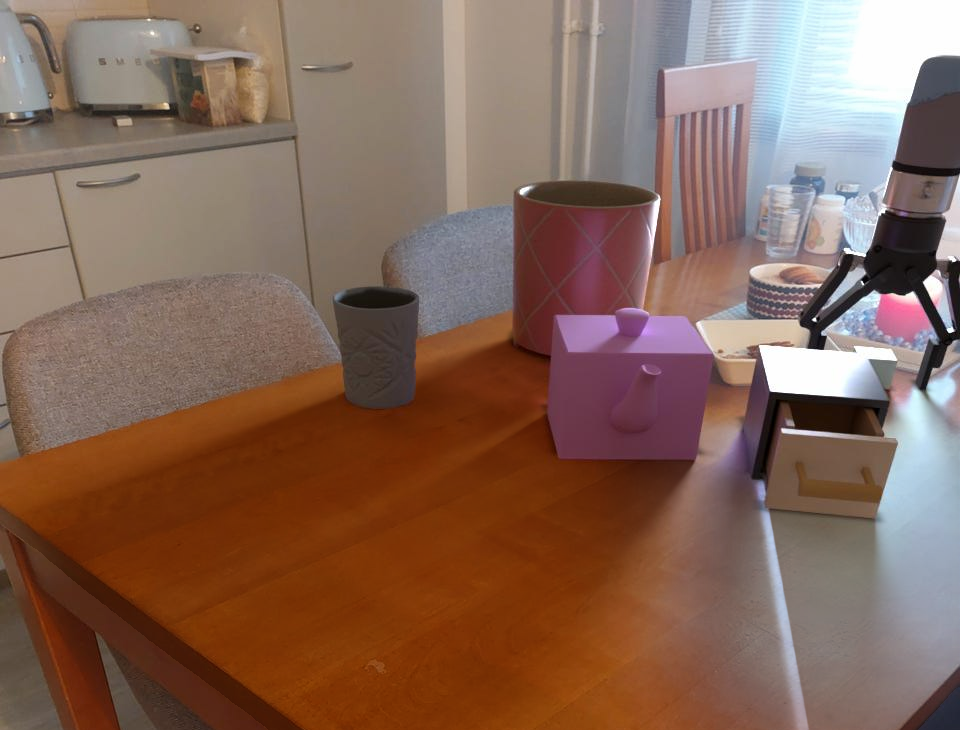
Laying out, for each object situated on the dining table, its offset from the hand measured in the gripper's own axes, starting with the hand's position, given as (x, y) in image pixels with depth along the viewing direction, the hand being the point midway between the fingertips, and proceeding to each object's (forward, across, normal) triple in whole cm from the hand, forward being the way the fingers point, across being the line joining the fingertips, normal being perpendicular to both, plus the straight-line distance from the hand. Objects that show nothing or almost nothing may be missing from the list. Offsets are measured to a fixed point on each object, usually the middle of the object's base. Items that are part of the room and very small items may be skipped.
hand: (864, 387), depth 121 cm
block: (0, 0, 0) cm, 0 cm away
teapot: (0, -31, -24) cm, 39 cm away
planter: (+1, -39, +8) cm, 40 cm away
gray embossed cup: (+1, -61, -17) cm, 63 cm away
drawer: (-1, -11, -36) cm, 37 cm away
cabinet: (0, -11, -24) cm, 26 cm away
